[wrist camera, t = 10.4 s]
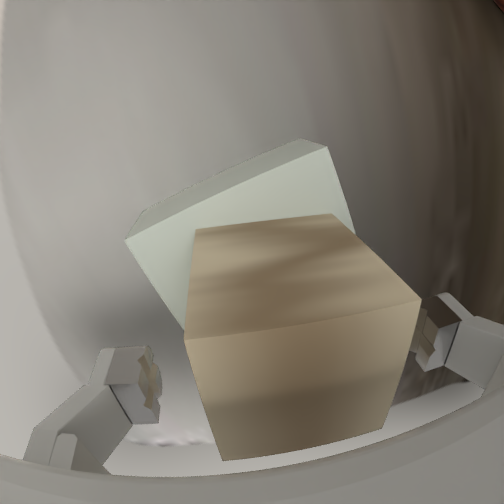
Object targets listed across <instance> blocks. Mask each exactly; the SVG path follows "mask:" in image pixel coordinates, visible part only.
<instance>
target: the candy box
mask: <svg viewBox="0 0 504 504" xmlns="http://www.w3.org/2000/svg"><path fill="white" fill-rule="evenodd" d="M493 1H494V2H495V3H496V4H497V5H498V6H499V8H500V9H501V10H502V11H503V12H504V0H493Z"/></svg>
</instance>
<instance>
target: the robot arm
mask: <svg viewBox="0 0 504 504" xmlns="http://www.w3.org/2000/svg"><path fill="white" fill-rule="evenodd" d="M409 350H410V351H412V352H414V353H416V357H415V359H416V361H417V362H418V363H419V365H420V366H421V368H422V369H423V370H424V372H426V371H429V370H431V369H434V368H437V367H440V366H443V365H445V367H447V368H449V369H450V370H452V371H454V372H456V373H457V374H459V375H461V376H462V377H464V378H466V379H468V380H469V381H471V382H473V383H474V384H476V385H478V386H479V387H481V388H483V389H485V391H484V393H483V394H482V396H481V398H479V399H478V400H476V401H474V402H472V403H470V404H468V405H466V406H464V407H462V408H460V409H458V410H456V411H454V412H452V413H450V414H448V415H445V416H443V417H441V418H439V419H437V420H434V421H432V422H430V423H427V424H425V425H423V426H420V427H418V428H415V429H413V430H410V431H408V432H405V433H402V434H400V435H397V436H395V437H392V438H389V439H386V440H383V441H380V442H377V443H374V444H371V445H368V446H365V447H361V448H358V449H355V450H351V451H348V452H344V453H341V454H337V455H333V456H329V457H325V458H321V459H317V460H313V461H308V462H304V463H298V464H293V465H289V466H283V467H277V468H271V469H265V470H258V471H250V472H242V473H233V474H224V475H223V474H222V475H209V476H191V477H139V476H121V475H111V474H110V473H109V472H108V471H107V470H106V469H105V468H104V467H103V466H102V465H103V464H104V462H105V461H106V460H107V459H108V457H109V456H110V455H111V453H112V452H113V450H114V449H115V448H116V447H117V446H118V444H119V443H120V442H121V440H122V439H123V438H124V436H125V435H126V434H127V432H128V431H129V430H130V429H131V427H132V424H153V423H159V414H160V404H159V402H158V400H157V399H158V398H159V397H160V396H161V395H162V379H161V375H160V371H159V368H158V366H157V365H155V364H154V363H153V362H152V361H153V353H152V351H151V348H150V347H149V346H133V347H117V348H103V349H101V350H100V352H99V355H98V358H97V361H96V363H95V366H94V369H93V372H92V375H91V377H90V380H89V383H88V385H83V386H82V387H81V388H80V389H79V390H78V391H76V392H75V393H74V394H73V395H72V396H71V397H70V398H68V399H67V400H66V401H65V402H64V403H62V404H61V405H60V406H59V407H58V408H57V409H55V410H54V411H53V412H52V413H51V414H50V415H49V416H47V417H46V418H45V419H44V420H43V421H42V422H40V423H39V424H38V425H37V426H36V427H34V429H33V432H32V434H31V437H30V440H29V443H28V446H27V449H26V452H25V455H24V458H23V460H20V459H16V458H12V457H8V456H5V455H1V454H0V504H504V325H502V324H499V323H496V322H493V321H491V320H488V319H485V318H482V317H479V316H475V317H474V316H473V315H472V314H471V313H470V312H469V311H467V310H466V309H465V308H464V307H463V306H462V305H461V304H460V303H459V302H458V301H457V300H456V299H455V298H454V297H453V296H452V295H450V294H449V293H446V292H444V293H441V294H437V295H434V296H432V297H428V298H424V299H422V301H421V305H420V310H419V314H418V318H417V322H416V326H415V330H414V334H413V337H412V341H411V345H410V348H409Z"/></svg>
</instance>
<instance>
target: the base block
mask: <svg viewBox="0 0 504 504" xmlns="http://www.w3.org/2000/svg"><path fill="white" fill-rule="evenodd" d="M331 213H332V214H333V215H334V216H335V217H336V218H337V219H339V220H340V221H341V222H342V223H343V224H344V225H345V226H346V227H347V228H349V229H350V230H351V231H352V232H353V233H354V234H355V235H356V233H355V230H354V227H353V223H352V220H351V217H350V213H349V210H348V207H347V204H346V200H345V197H344V194H343V191H342V188H341V185H340V182H339V179H338V176H337V173H336V170H335V167H334V165H333V162H332V159H331V156H330V153H329V151H328V148H327V146H324V145H321V144H317V143H314V142H311V141H307V140H304V139H300V138H299V139H297V140H294V141H292V142H289V143H287V144H284V145H282V146H279V147H277V148H275V149H272V150H270V151H268V152H265V153H263V154H261V155H258V156H256V157H254V158H251V159H249V160H247V161H245V162H242V163H240V164H238V165H236V166H234V167H231V168H229V169H227V170H225V171H223V172H220V173H218V174H216V175H214V176H212V177H210V178H208V179H206V180H204V181H201V182H199V183H197V184H195V185H193V186H191V187H189V188H187V189H185V190H183V191H181V192H179V193H177V194H175V195H173V196H171V197H169V198H167V199H165V200H163V201H161V202H159V203H157V204H156V205H154V206H152V207H150V208H148V209H146V210H144V211H143V212H142V214H141V215H140V217H139V218H138V220H137V221H136V223H135V224H134V226H133V228H132V229H131V231H130V232H129V234H128V235H127V237H126V238H125V240H124V241H125V243H126V244H127V246H128V247H129V249H130V251H131V252H132V254H133V256H134V257H135V259H136V260H137V262H138V263H139V265H140V267H141V268H142V270H143V271H144V273H145V274H146V276H147V277H148V279H149V281H150V282H151V284H152V285H153V287H154V288H155V290H156V291H157V293H158V294H159V296H160V297H161V299H162V300H163V302H164V303H165V304H166V306H167V307H168V309H169V310H170V312H171V313H172V315H173V316H174V317H175V319H176V320H177V322H178V323H179V325H180V326H181V327H182V329H183V330H184V329H185V318H186V308H187V298H188V289H189V279H190V270H191V262H192V254H193V246H194V238H195V230H196V229H201V228H209V227H217V226H225V225H233V224H241V223H249V222H258V221H266V220H275V219H284V218H293V217H302V216H311V215H321V214H331Z"/></svg>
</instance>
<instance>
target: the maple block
mask: <svg viewBox="0 0 504 504" xmlns="http://www.w3.org/2000/svg"><path fill="white" fill-rule="evenodd" d="M421 301H422V299H421V298H420V297H419V296H418V295H417V294H416V293H415V292H414V291H413V290H412V289H411V288H410V287H409V286H408V285H407V284H406V283H405V282H404V281H403V280H402V279H401V278H400V277H399V276H398V275H397V274H396V273H395V272H394V271H393V270H392V269H391V268H390V267H389V266H388V265H387V264H386V263H385V262H384V261H383V260H382V259H381V258H380V257H379V256H377V255H376V254H375V253H374V252H373V251H372V250H371V249H370V248H369V247H368V246H367V245H366V244H365V243H364V242H363V241H362V240H360V239H359V238H358V237H357V236H356V235H355V234H354V233H353V232H352V231H351V230H350V229H349V228H347V227H346V226H345V225H344V224H343V223H342V222H341V221H340V220H339V219H337V218H336V217H335V216H334V215H333V214H332V213H331V214H321V215H311V216H302V217H293V218H284V219H275V220H266V221H258V222H249V223H241V224H233V225H225V226H217V227H209V228H201V229H196V230H195V238H194V246H193V254H192V262H191V270H190V279H189V289H188V298H187V308H186V318H185V329H184V343H185V347H186V350H187V354H188V357H189V361H190V364H191V368H192V371H193V374H194V378H195V381H196V384H197V388H198V391H199V394H200V397H201V400H202V403H203V406H204V409H205V412H206V415H207V418H208V421H209V424H210V427H211V430H212V433H213V436H214V439H215V441H216V444H217V447H218V450H219V452H220V455H221V458H222V461H229V460H238V459H247V458H255V457H262V456H268V455H275V454H281V453H286V452H291V451H297V450H302V449H307V448H312V447H316V446H321V445H325V444H329V443H333V442H337V441H341V440H345V439H348V438H352V437H356V436H359V435H362V434H366V433H369V432H372V431H376V430H379V429H381V428H382V427H383V425H384V422H385V419H386V417H387V414H388V411H389V409H390V406H391V404H392V401H393V398H394V395H395V393H396V390H397V387H398V384H399V381H400V378H401V375H402V372H403V368H404V365H405V362H406V359H407V355H408V352H409V348H410V345H411V341H412V337H413V334H414V330H415V326H416V322H417V318H418V314H419V310H420V305H421Z"/></svg>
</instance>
